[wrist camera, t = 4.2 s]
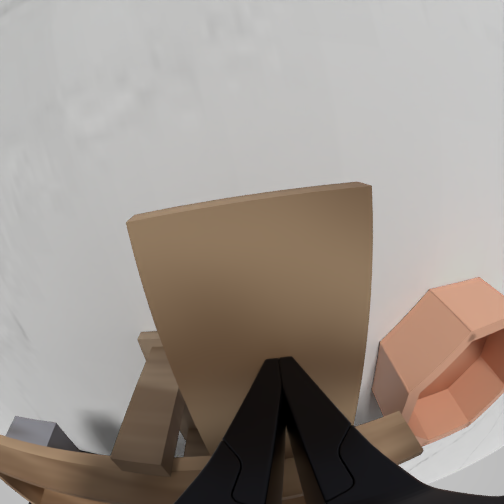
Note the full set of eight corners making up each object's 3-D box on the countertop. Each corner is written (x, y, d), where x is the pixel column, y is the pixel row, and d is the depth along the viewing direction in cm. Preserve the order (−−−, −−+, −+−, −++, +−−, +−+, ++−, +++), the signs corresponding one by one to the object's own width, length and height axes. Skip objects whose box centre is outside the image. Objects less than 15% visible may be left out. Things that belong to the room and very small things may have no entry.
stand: (232, 432, 21) (229, 527, 12) (186, 432, 21) (172, 523, 13) (201, 328, 17) (174, 459, 9) (141, 332, 17) (88, 447, 9)
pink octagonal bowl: (471, 378, 20) (495, 411, 16) (365, 414, 21) (382, 460, 16) (505, 269, 16) (546, 298, 11) (384, 298, 17) (422, 347, 12)
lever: (367, 441, 16) (393, 494, 11) (50, 462, 14) (37, 507, 9) (402, 169, 10) (501, 192, 5) (-72, 265, 8) (-122, 303, 4)
